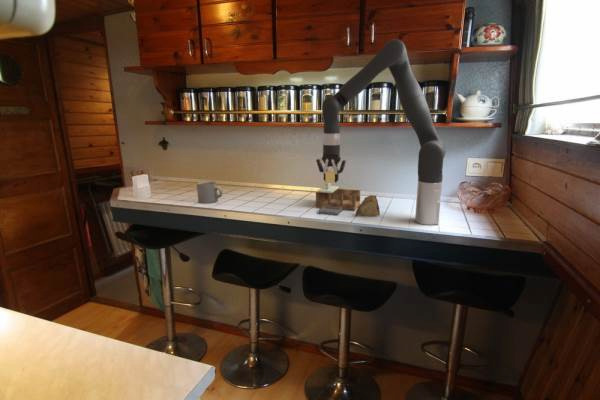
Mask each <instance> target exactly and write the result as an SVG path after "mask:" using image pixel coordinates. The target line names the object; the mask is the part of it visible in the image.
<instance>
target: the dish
mask: <svg viewBox="0 0 600 400" xmlns="http://www.w3.org/2000/svg"><path fill="white" fill-rule="evenodd" d="M342 211H344V210H343V208H342V207H331V206H324V207H322V208H319V209H318V213H317V214H319V215H326V216H327V215H329V216H338V215H339V214H340V213H341V212H342Z"/></svg>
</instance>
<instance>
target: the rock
mask: <svg viewBox="0 0 600 400" xmlns="http://www.w3.org/2000/svg"><path fill="white" fill-rule="evenodd" d="M380 213H381V210H380V206H379V200H378V198H377V195H374V194H370V195H369V196H366V197H364V199H363V201H361V202H360V205H359V206H358V208H357V209H356V210H355V214H354V215H355V216H356V217H368V218H369V217H379V216H380V215H381V214H380Z"/></svg>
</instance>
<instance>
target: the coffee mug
mask: <svg viewBox="0 0 600 400" xmlns="http://www.w3.org/2000/svg"><path fill="white" fill-rule="evenodd" d="M196 190H197V201H198V202H197V203H199V204H202V205H203V204H204V205H205V204H206V205H207V204H208V205H209V204H214V203H217V202H218V201H219V200H218V199H219V198H221V197H222V196H223V188H222V187H220V186H218V185H217V181H214V180H204V181H199V182H197V183H196ZM218 191H219V194H218Z"/></svg>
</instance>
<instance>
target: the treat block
mask: <svg viewBox="0 0 600 400" xmlns="http://www.w3.org/2000/svg"><path fill="white" fill-rule="evenodd" d="M324 182H325V183H331V184H335V183H336V182H335V172H334V170H329V169H328V171H326V178H325V180H324ZM325 183H324V184H325Z"/></svg>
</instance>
